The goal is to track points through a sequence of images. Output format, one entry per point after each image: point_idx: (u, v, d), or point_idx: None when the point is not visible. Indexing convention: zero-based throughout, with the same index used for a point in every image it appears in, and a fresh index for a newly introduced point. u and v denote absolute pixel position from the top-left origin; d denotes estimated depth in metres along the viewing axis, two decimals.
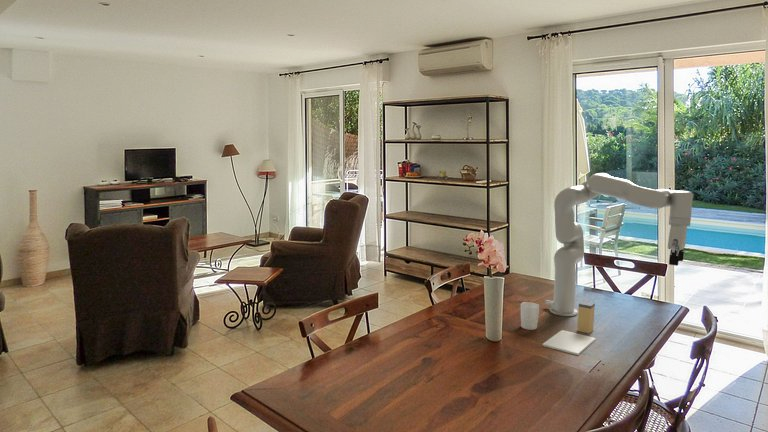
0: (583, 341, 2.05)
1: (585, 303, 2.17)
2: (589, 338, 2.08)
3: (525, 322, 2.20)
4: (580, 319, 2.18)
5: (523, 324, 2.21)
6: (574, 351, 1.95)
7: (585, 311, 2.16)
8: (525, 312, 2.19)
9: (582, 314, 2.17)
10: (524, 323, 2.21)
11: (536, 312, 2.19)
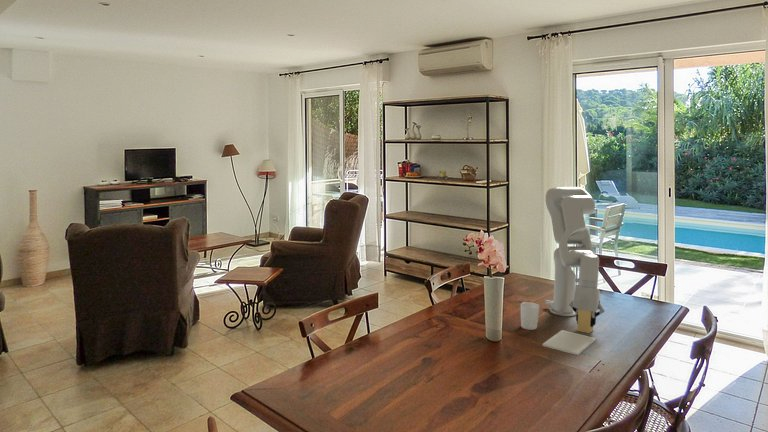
0: (583, 341, 2.05)
1: None
2: (589, 338, 2.08)
3: (525, 322, 2.20)
4: (580, 319, 2.18)
5: (523, 324, 2.21)
6: (574, 351, 1.95)
7: (585, 311, 2.16)
8: (525, 312, 2.19)
9: (582, 314, 2.17)
10: (524, 323, 2.21)
11: (536, 312, 2.19)
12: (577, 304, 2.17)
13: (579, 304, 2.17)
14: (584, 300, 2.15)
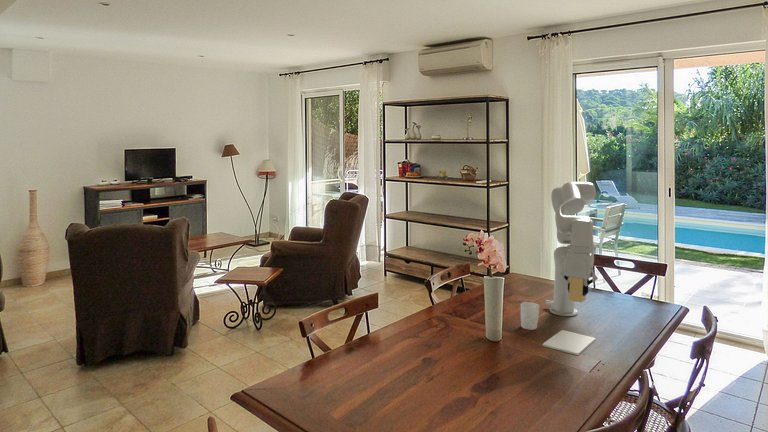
0: (583, 341, 2.05)
1: None
2: (589, 338, 2.08)
3: (525, 322, 2.20)
4: (572, 288, 2.06)
5: (523, 324, 2.21)
6: (574, 351, 1.95)
7: (577, 279, 2.04)
8: (525, 312, 2.19)
9: (574, 282, 2.05)
10: (524, 323, 2.21)
11: (536, 312, 2.19)
12: (569, 272, 2.06)
13: (571, 272, 2.05)
14: (576, 267, 2.04)
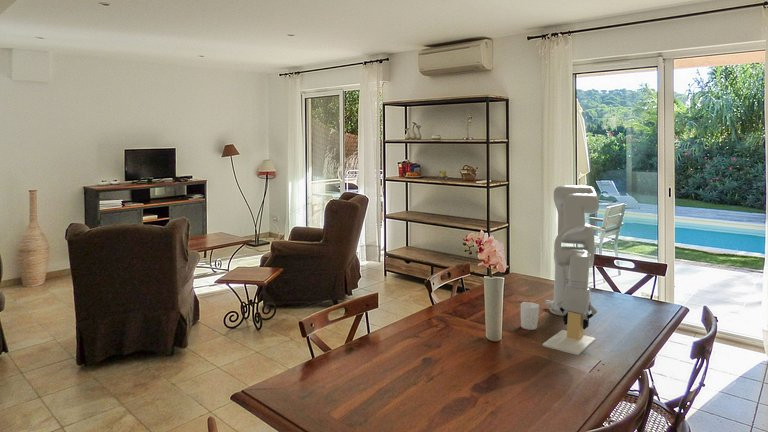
0: (583, 341, 2.05)
1: None
2: (589, 338, 2.08)
3: (525, 322, 2.20)
4: (570, 325, 2.08)
5: (523, 324, 2.21)
6: (574, 351, 1.95)
7: (575, 316, 2.07)
8: (525, 312, 2.19)
9: (572, 320, 2.08)
10: (524, 323, 2.21)
11: (536, 312, 2.19)
12: (567, 306, 2.08)
13: (569, 306, 2.07)
14: (574, 302, 2.06)
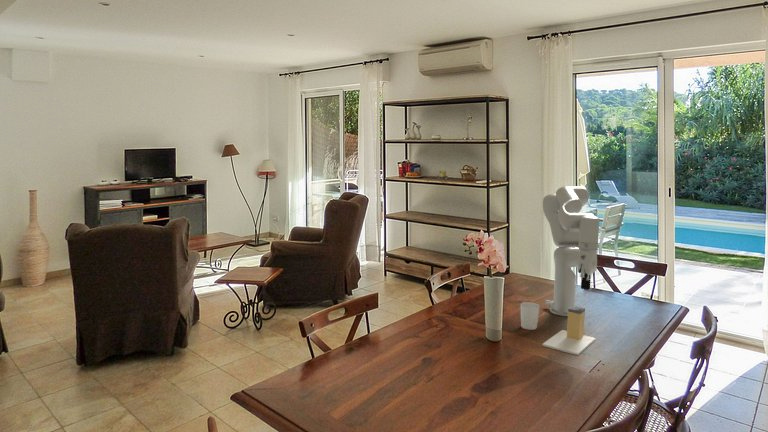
0: (583, 341, 2.05)
1: (575, 308, 2.08)
2: (589, 338, 2.08)
3: (525, 322, 2.20)
4: (570, 325, 2.08)
5: (523, 324, 2.21)
6: (574, 351, 1.95)
7: (575, 316, 2.07)
8: (525, 312, 2.19)
9: (572, 320, 2.08)
10: (524, 323, 2.21)
11: (536, 312, 2.19)
12: (591, 270, 2.09)
13: (591, 269, 2.09)
14: (593, 263, 2.11)
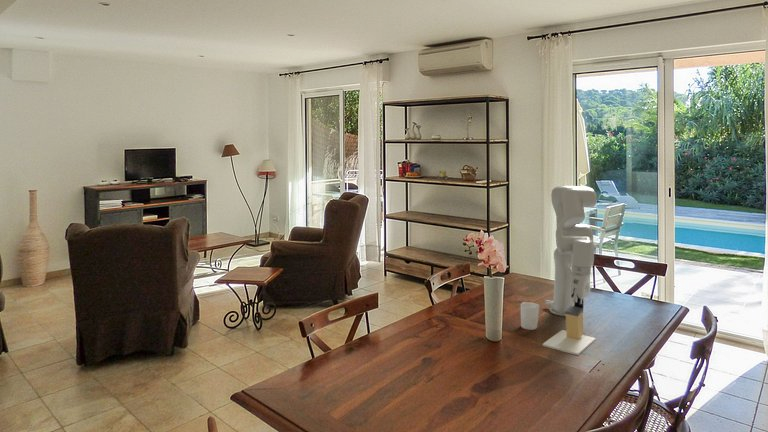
0: (583, 341, 2.05)
1: (572, 309, 2.06)
2: (589, 338, 2.08)
3: (525, 322, 2.20)
4: (568, 326, 2.08)
5: (523, 324, 2.21)
6: (574, 351, 1.95)
7: (573, 318, 2.05)
8: (525, 312, 2.19)
9: (570, 321, 2.06)
10: (524, 323, 2.21)
11: (536, 312, 2.19)
12: (584, 294, 2.05)
13: (584, 293, 2.05)
14: (586, 287, 2.07)
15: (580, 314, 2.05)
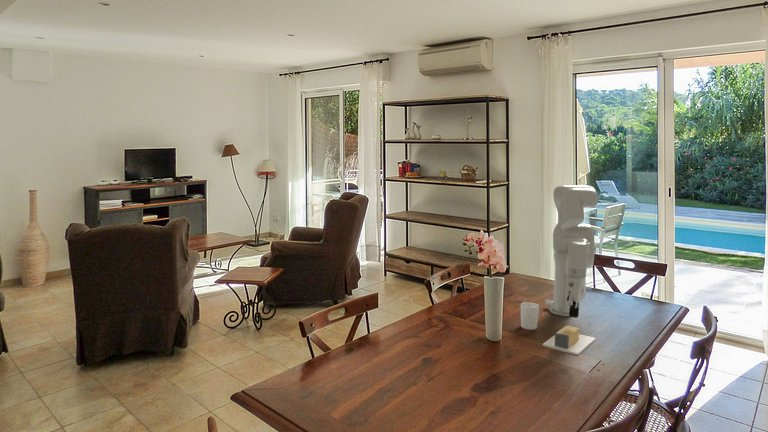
0: (583, 341, 2.05)
1: (560, 341, 1.99)
2: (589, 338, 2.08)
3: (525, 322, 2.20)
4: None
5: (523, 324, 2.21)
6: (574, 351, 1.95)
7: None
8: (525, 312, 2.19)
9: None
10: (524, 323, 2.21)
11: (536, 312, 2.19)
12: (579, 297, 2.01)
13: (580, 296, 2.02)
14: (582, 290, 2.03)
15: (569, 341, 1.99)
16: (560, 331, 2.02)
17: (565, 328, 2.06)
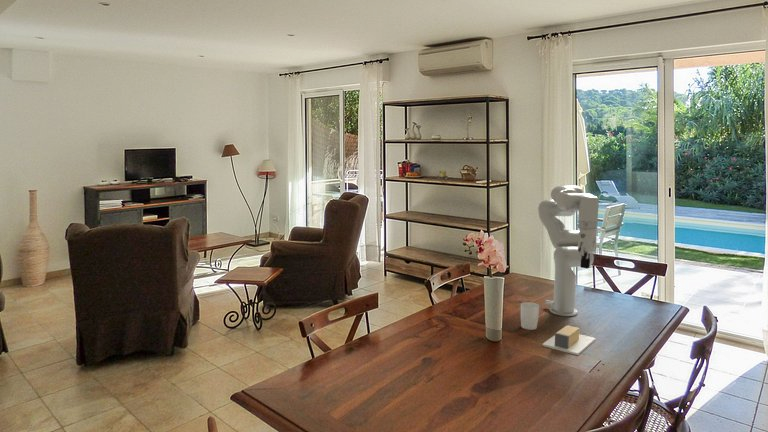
0: (583, 341, 2.05)
1: (560, 341, 1.99)
2: (589, 338, 2.08)
3: (525, 322, 2.20)
4: None
5: (523, 324, 2.21)
6: (574, 351, 1.95)
7: None
8: (525, 312, 2.19)
9: None
10: (524, 323, 2.21)
11: (536, 312, 2.19)
12: (590, 248, 2.12)
13: (591, 247, 2.13)
14: (593, 242, 2.14)
15: (569, 341, 1.99)
16: (560, 331, 2.02)
17: (565, 328, 2.06)
